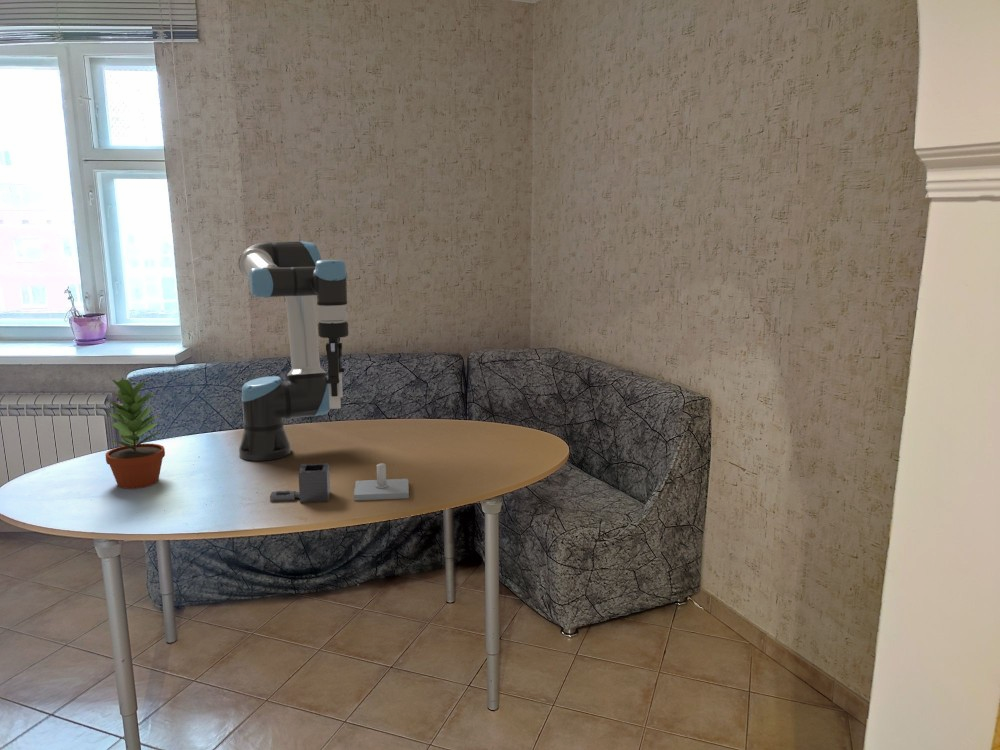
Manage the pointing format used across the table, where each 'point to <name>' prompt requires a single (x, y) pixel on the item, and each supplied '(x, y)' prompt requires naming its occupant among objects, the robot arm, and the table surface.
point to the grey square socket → (308, 485)
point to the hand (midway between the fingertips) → (336, 402)
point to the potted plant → (134, 440)
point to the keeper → (381, 487)
